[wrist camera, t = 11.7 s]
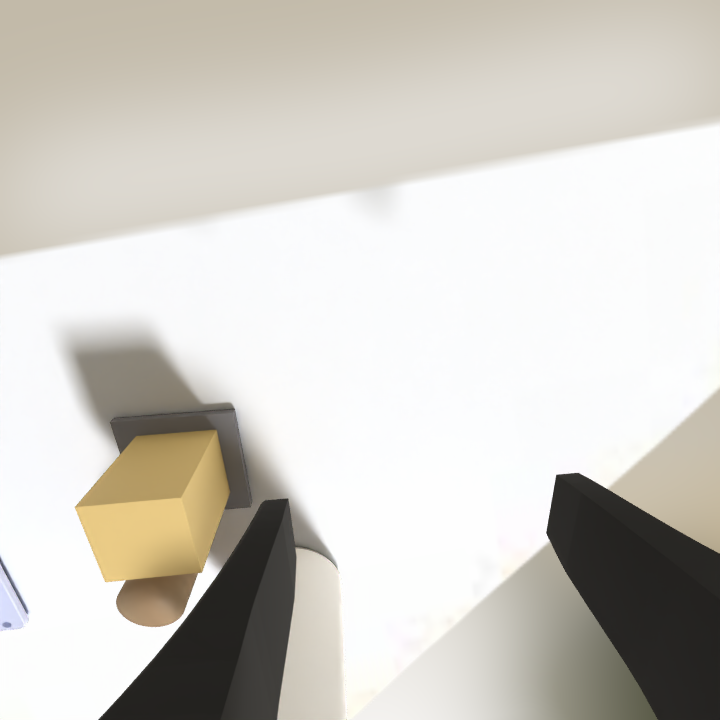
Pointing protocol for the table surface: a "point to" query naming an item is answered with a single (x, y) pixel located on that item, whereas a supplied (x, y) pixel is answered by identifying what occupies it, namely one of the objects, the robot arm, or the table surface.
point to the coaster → (196, 421)
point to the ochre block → (157, 506)
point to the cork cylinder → (155, 599)
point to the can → (315, 644)
